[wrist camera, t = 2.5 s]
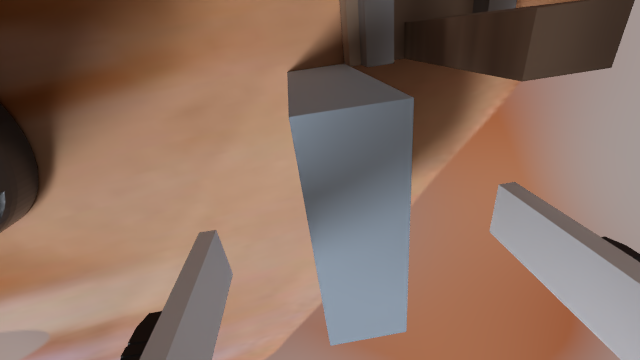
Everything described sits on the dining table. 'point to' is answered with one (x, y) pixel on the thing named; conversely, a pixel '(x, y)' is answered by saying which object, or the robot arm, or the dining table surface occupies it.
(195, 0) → the dining table surface
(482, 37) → the grey u-shaped frame
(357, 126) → the grey square slab
